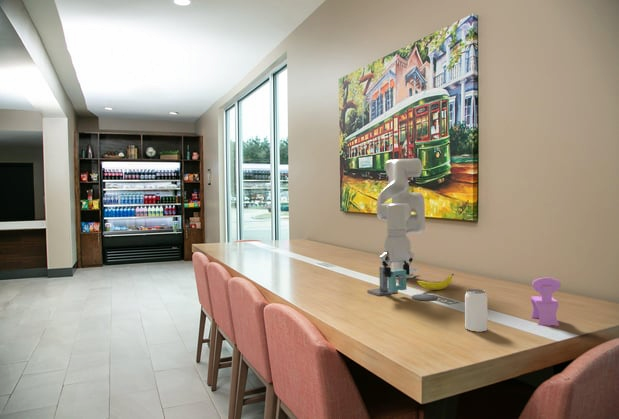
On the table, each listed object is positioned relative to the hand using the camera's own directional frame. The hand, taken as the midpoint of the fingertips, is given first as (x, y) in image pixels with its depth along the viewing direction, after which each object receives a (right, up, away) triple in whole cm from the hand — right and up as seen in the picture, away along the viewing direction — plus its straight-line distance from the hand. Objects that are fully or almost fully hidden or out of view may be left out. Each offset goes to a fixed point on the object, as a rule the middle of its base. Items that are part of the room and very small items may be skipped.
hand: (397, 275), depth 181 cm
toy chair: (+41, -10, -37) cm, 56 cm away
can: (+16, -10, -43) cm, 47 cm away
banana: (+19, -8, +12) cm, 24 cm away
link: (0, -6, 0) cm, 6 cm away
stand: (-2, -9, +5) cm, 10 cm away
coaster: (+11, -9, -2) cm, 14 cm away
